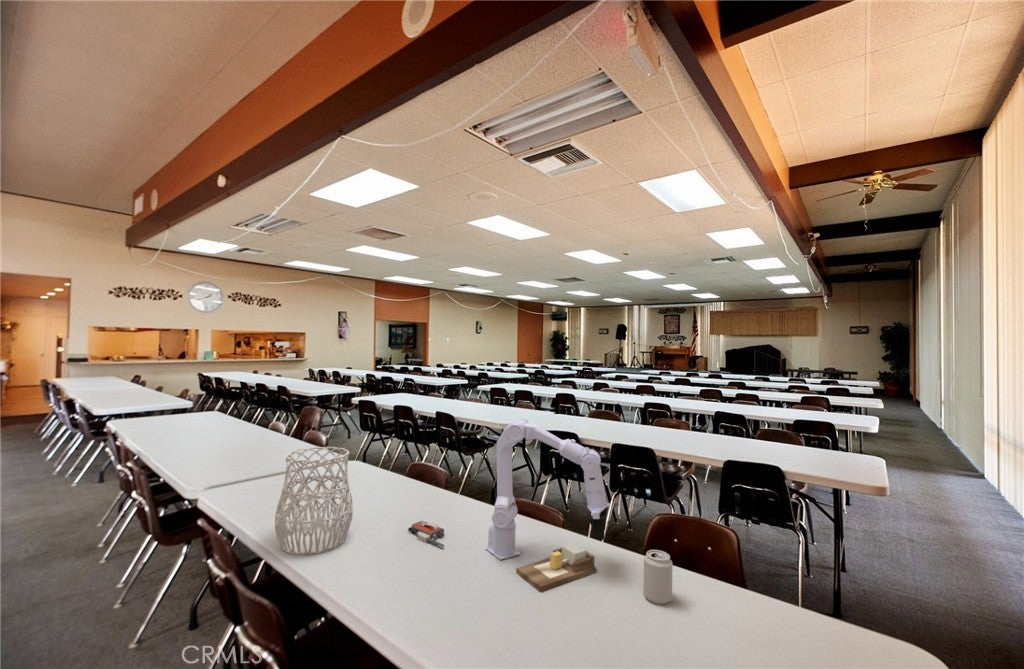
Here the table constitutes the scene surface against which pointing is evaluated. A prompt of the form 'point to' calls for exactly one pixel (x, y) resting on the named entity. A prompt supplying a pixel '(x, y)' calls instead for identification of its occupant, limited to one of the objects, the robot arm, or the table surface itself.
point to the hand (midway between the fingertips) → (601, 534)
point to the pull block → (567, 555)
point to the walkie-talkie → (427, 532)
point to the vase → (321, 536)
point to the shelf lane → (555, 572)
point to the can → (657, 577)
